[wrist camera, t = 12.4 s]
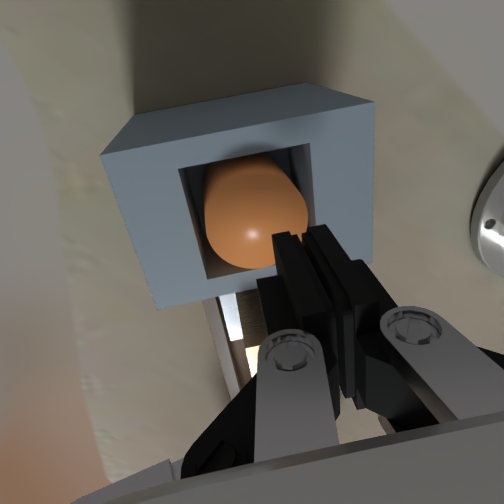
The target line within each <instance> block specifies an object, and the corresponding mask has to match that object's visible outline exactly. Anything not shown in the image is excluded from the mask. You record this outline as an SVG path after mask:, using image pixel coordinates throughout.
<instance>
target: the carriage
mask: <svg viewBox="0 0 504 504" xmlns="http://www.w3.org/2000/svg"><path fill="white" fill-rule="evenodd" d="M219 297H220V301H221V305H222V309H223V313H224V317H225V321H226V325H227V329H228V333H229V337H230V341H233V340H238V339H242V338H243V339H244V344H245V349H246V354H247V358H248V363H249V367H250V371H251V376H252V377H253V376H254V375H255V374H256V372H257V354H258V350H259V346H260V345H261V343H262V342H263V340H264V339H266V338H267V334H266V330H265V325H264V320H263V315H262V310H261V305H260V299H259V294H258V289H257V288H255V289H250V290H246V291H241V292H236V293H232V294H227V295H223V296H219Z"/></svg>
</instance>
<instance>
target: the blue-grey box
mask: <svg viewBox="0 0 504 504" xmlns="http://www.w3.org/2000/svg"><path fill="white" fill-rule="evenodd" d="M374 113H375V102H374V101H370V100H366V99H363V98H359V97H356V96H352V95H349V94H345V93H342V92H338V91H335V90H331V89H328V88H324V87H321V86H317V85H314V84H310V83H307V82H305V83H300V84H295V85H289V86H284V87H279V88H273V89H268V90H263V91H258V92H252V93H247V94H242V95H236V96H231V97H226V98H221V99H215V100H210V101H205V102H199V103H194V104H189V105H184V106H178V107H173V108H168V109H162V110H157V111H152V112H147V113H141V114H136V115H134V116H133V117H132V118H131V119H130V120H129V121H128V123H127V124H126V125H125V126H124V127H123V128H122V130H121V131H120V132H119V133H118V134H117V135H116V137H115V138H114V139H113V140H112V141H111V142H110V144H109V145H108V146H107V147H106V148H105V149H104V151H103V152H102V153H101V154H100V158H101V160H102V163H103V166H104V168H105V171H106V174H107V176H108V179H109V182H110V185H111V187H112V190H113V193H114V195H115V198H116V201H117V203H118V206H119V209H120V211H121V214H122V217H123V220H124V222H125V225H126V228H127V230H128V233H129V236H130V238H131V241H132V244H133V246H134V249H135V252H136V254H137V257H138V260H139V263H140V265H141V268H142V271H143V273H144V276H145V279H146V281H147V284H148V287H149V289H150V292H151V295H152V298H153V300H154V303H155V306H156V308H157V310H158V309H163V308H167V307H172V306H177V305H181V304H186V303H190V302H195V301H200V300H204V299H209V298H213V297H218V296H223V295H227V294H232V293H236V292H241V291H246V290H250V289H255V288H257V283H256V279H259V278H264V277H270V276H275V275H277V271H276V264H274V265H272V266H269V267H265V268H258V269H248V268H242V267H238V266H235V265H232V264H230V263H228V262H227V261H225V260H223V259H222V258H221V257H220V256H219V255H218V254H217V253H216V252H215V251H214V249H213V248H212V247H211V245H210V243H209V240H208V237H207V233H206V226H205V214H204V203H203V191H202V181H203V176H204V173H205V170H206V168H207V166H208V165H209V163H210V162H215V161H220V160H225V159H230V158H235V157H240V156H245V155H250V154H255V153H260V152H265V151H266V152H267V153H268V154H270V155H271V156H272V157H273V158H274V159H275V161H276V162H277V163H278V165H279V166H280V167H281V169H282V170H283V171H284V172H285V174H286V175H287V176H288V178H289V179H290V180H291V182H292V183H293V184H294V186H295V187H296V188H297V189H298V191H299V192H300V194H301V195H302V197H303V199H304V201H305V203H306V206H307V211H308V225H307V227H312V226H317V225H322V224H326V225H327V226H328V228H329V229H330V231H331V232H332V233H333V235H334V236H335V238H336V239H337V241H338V242H339V243H340V245H341V246H342V248H343V249H344V251H345V252H346V253H347V255H348V256H349V258H350V259H351V260H357V259H362V260H363V261H364V262H365V264H370V263H372V244H373V179H374ZM306 232H307V229H306ZM301 243H302V241H301Z"/></svg>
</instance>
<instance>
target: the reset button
mask: <svg viewBox="0 0 504 504" xmlns="http://www.w3.org/2000/svg"><path fill="white" fill-rule="evenodd" d="M202 191H203V203H204V214H205V226H206V233H207V237H208V240H209V243H210V245H211V247H212V248H213V249H214V251H215V252H216V253H217V254H218V255H219V256H220V257H221V258H222V259H223V260H225V261H227V262H228V263H230V264H232V265H235V266H238V267H242V268H248V269H258V268H265V267H269V266H272V265H274V264H275V257H274V250H273V244H272V234H275V233H280V232H286V231H289V232H290V233H291V235H294V234H297V235H298V237H299V239H300V241H302V237H301V234H302V233H305V232H306V229H307V225H308V211H307V206H306V203H305V201H304V199H303V197H302V195H301V194H300V192H299V191H298V189H297V188H296V187H295V186H294V184H293V183H292V182H291V180H290V179H289V178H288V176H287V175H286V174H285V172H284V171H283V170H282V169H281V167H280V166H279V165H278V163H277V162H276V161H275V159H274V158H273V157H272V156H271V155H270V154H268V153H267V152H266V151H265V152H260V153H255V154H250V155H245V156H240V157H235V158H230V159H225V160H220V161H215V162H210V163H209V165H208V166H207V168H206V170H205V173H204V176H203V181H202Z"/></svg>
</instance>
